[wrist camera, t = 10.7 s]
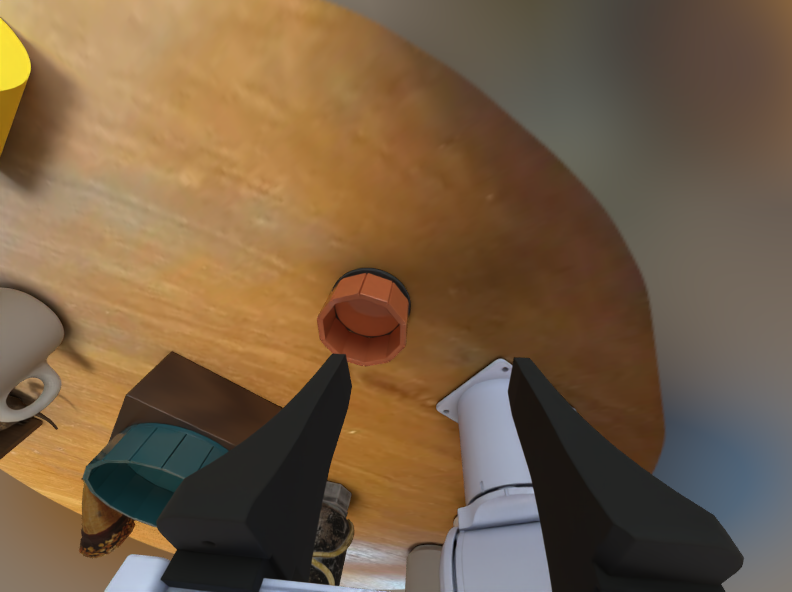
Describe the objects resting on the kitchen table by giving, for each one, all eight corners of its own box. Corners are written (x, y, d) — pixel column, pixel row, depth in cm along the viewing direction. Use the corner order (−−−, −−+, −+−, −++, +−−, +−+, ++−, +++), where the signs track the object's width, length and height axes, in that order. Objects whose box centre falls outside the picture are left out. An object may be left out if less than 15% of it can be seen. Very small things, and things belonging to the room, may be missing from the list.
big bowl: (267, 464, 27) (249, 504, 24) (223, 508, 33) (204, 545, 30) (131, 402, 24) (94, 439, 21) (108, 462, 30) (75, 498, 27)
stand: (297, 415, 31) (276, 464, 27) (249, 466, 37) (226, 512, 33) (171, 351, 28) (125, 394, 24) (141, 418, 34) (100, 462, 30)
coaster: (427, 299, 23) (427, 302, 22) (380, 346, 25) (379, 350, 25) (359, 251, 21) (358, 253, 21) (317, 307, 24) (315, 310, 24)
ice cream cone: (48, 476, 40) (80, 544, 46) (55, 509, 37) (88, 578, 42) (111, 447, 44) (133, 513, 50) (122, 474, 41) (144, 541, 47)
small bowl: (426, 300, 22) (425, 327, 19) (378, 349, 25) (372, 378, 22) (359, 253, 21) (348, 276, 18) (316, 310, 24) (301, 337, 21)
